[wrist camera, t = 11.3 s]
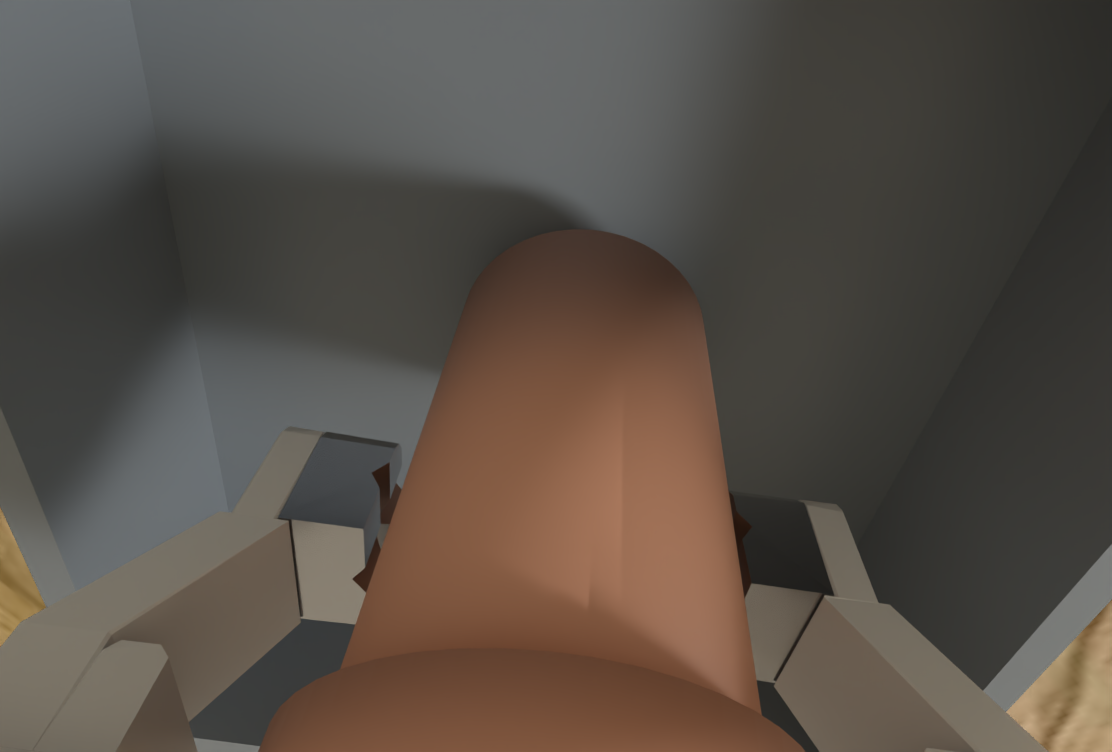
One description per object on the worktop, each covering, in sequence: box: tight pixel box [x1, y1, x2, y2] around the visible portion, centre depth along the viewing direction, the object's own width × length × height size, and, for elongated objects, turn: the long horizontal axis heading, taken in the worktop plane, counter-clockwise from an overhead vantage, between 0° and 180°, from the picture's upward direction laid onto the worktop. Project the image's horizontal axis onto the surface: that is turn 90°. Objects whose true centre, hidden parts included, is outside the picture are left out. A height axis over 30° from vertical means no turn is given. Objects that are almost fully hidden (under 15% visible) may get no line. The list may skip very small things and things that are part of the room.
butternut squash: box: [258, 229, 805, 752], centre depth 8 cm, size 5×5×8 cm
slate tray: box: [0, 0, 1112, 752], centre depth 11 cm, size 15×15×5 cm
